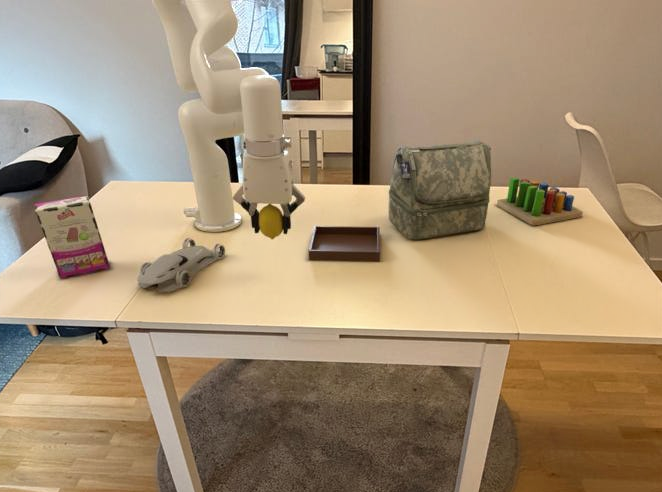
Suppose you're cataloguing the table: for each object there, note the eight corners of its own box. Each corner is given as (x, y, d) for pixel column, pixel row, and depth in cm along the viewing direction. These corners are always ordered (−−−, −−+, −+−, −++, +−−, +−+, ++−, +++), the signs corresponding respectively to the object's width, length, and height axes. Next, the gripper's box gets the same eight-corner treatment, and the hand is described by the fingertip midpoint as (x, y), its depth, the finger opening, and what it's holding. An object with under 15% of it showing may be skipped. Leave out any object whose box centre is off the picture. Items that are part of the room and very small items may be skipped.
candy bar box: (108, 261, 132) (88, 194, 122) (111, 269, 128) (91, 201, 119) (57, 270, 128) (33, 202, 118) (59, 279, 124) (34, 210, 114)
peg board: (582, 217, 155) (590, 187, 150) (532, 226, 149) (539, 196, 144) (543, 197, 168) (549, 169, 162) (495, 205, 162) (500, 176, 157)
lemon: (289, 235, 121) (287, 201, 116) (278, 246, 117) (275, 210, 112) (266, 232, 123) (263, 197, 118) (255, 242, 119) (251, 207, 114)
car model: (229, 254, 135) (226, 235, 132) (168, 300, 117) (163, 280, 114) (191, 247, 138) (188, 228, 135) (126, 291, 120) (120, 270, 117)
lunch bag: (404, 245, 139) (409, 158, 126) (379, 219, 153) (381, 138, 140) (493, 232, 146) (507, 148, 133) (462, 208, 160) (472, 130, 147)
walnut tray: (309, 260, 133) (308, 250, 131) (314, 234, 145) (314, 225, 143) (379, 261, 132) (379, 252, 131) (379, 235, 144) (379, 226, 143)
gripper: (310, 141, 111) (312, 225, 122) (226, 139, 111) (236, 223, 122) (306, 153, 105) (309, 240, 116) (217, 150, 105) (229, 237, 116)
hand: (271, 230), depth 119 cm, fingers closed on lemon, 5 cm apart
